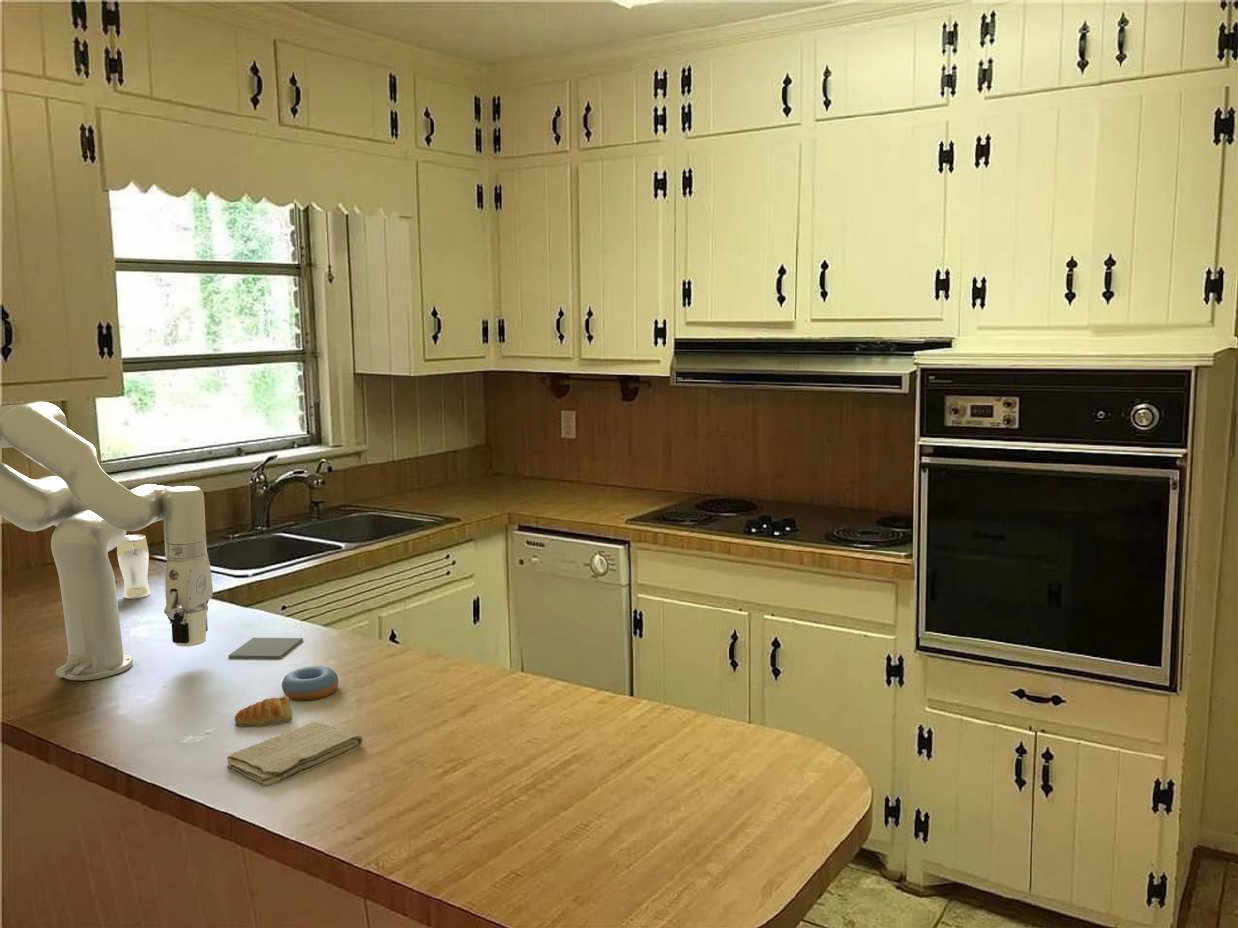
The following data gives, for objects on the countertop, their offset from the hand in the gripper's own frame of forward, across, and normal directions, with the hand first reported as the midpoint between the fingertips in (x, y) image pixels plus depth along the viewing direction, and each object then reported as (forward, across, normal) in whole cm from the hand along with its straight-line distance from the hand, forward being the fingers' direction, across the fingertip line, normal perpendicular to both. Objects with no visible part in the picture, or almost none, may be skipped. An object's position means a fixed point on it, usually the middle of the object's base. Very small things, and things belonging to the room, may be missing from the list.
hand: (190, 636), depth 202 cm
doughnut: (+5, -13, -30) cm, 34 cm away
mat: (+5, +9, -11) cm, 16 cm away
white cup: (+1, 0, 0) cm, 1 cm away
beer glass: (+7, +47, +41) cm, 63 cm away
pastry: (+5, -26, -28) cm, 39 cm away
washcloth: (+5, -40, -39) cm, 56 cm away
